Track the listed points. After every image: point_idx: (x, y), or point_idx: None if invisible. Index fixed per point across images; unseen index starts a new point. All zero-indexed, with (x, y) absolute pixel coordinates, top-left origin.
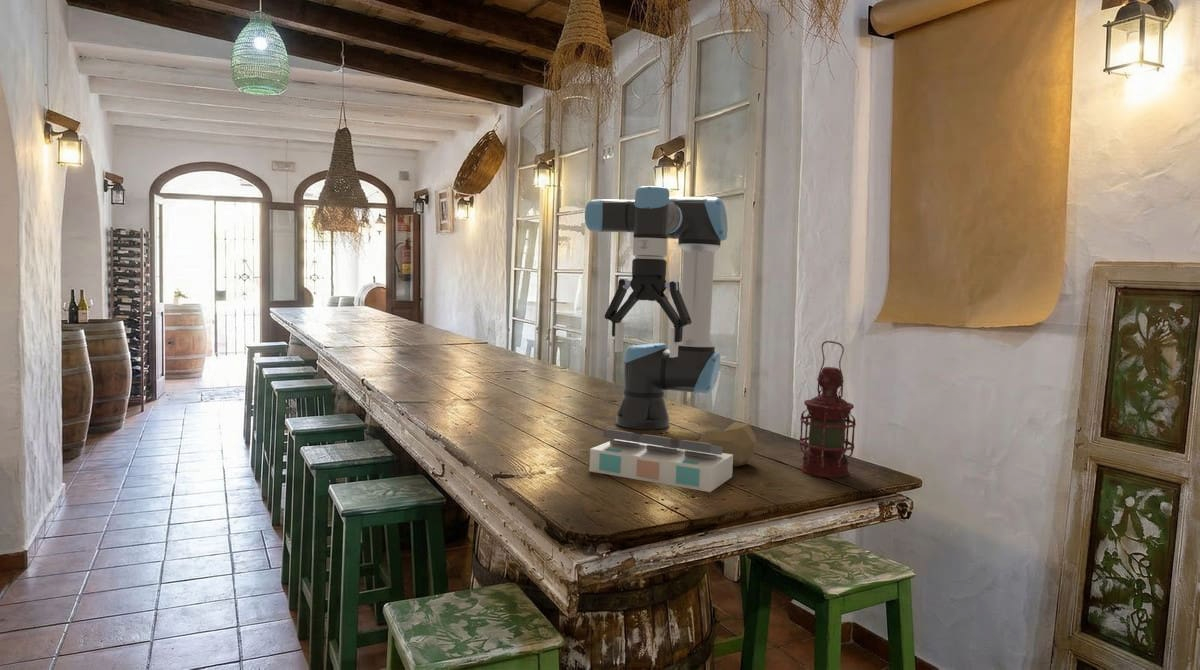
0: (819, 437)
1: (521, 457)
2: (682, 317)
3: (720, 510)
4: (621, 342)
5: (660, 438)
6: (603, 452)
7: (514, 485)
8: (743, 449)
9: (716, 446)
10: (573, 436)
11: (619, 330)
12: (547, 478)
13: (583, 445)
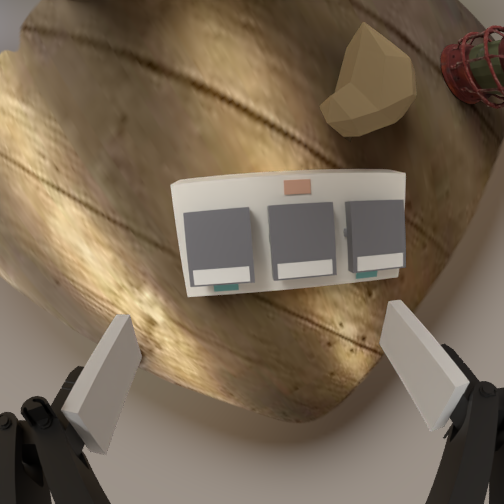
0: (498, 91)
1: (78, 276)
2: (497, 445)
3: None
4: (121, 355)
5: (315, 276)
6: (213, 294)
7: (171, 375)
8: (403, 115)
9: (404, 236)
10: (44, 107)
11: (110, 416)
12: (176, 338)
13: (85, 144)
